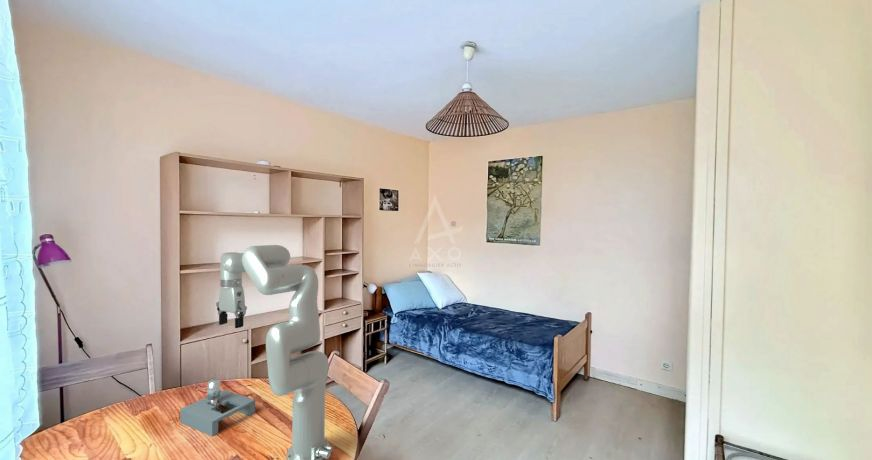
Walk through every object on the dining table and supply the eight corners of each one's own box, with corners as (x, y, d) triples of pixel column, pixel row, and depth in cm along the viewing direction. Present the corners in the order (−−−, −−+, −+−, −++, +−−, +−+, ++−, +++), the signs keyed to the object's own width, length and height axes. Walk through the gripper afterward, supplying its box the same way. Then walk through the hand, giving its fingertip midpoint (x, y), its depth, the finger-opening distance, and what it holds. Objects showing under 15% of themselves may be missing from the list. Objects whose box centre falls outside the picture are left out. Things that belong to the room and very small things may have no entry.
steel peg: (224, 414, 129) (224, 379, 129) (211, 420, 124) (211, 385, 124) (216, 411, 131) (216, 377, 131) (203, 417, 127) (203, 382, 126)
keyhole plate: (255, 413, 130) (255, 399, 130) (212, 436, 115) (212, 421, 115) (224, 402, 137) (224, 389, 137) (180, 422, 123) (180, 408, 123)
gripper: (254, 283, 138) (254, 326, 138) (226, 280, 145) (226, 320, 145) (236, 286, 131) (236, 331, 131) (208, 282, 138) (208, 325, 139)
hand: (231, 325), depth 138 cm, fingers open, 9 cm apart
